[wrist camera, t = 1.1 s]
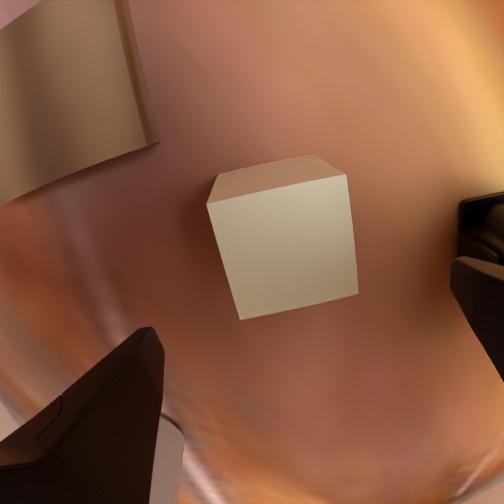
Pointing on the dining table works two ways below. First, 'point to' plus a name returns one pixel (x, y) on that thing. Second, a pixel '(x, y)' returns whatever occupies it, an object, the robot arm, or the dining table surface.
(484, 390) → the dining table surface
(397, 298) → the dining table surface
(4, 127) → the plinth
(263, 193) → the block
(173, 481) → the can
